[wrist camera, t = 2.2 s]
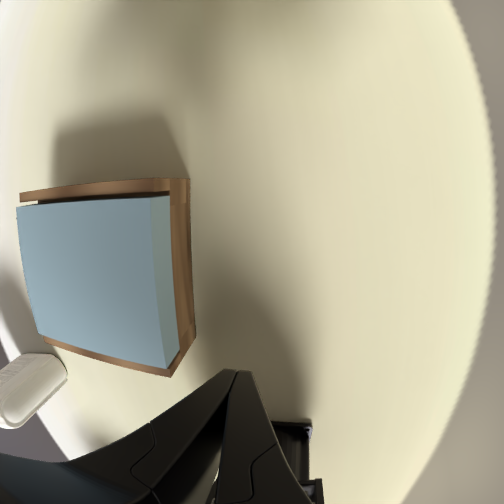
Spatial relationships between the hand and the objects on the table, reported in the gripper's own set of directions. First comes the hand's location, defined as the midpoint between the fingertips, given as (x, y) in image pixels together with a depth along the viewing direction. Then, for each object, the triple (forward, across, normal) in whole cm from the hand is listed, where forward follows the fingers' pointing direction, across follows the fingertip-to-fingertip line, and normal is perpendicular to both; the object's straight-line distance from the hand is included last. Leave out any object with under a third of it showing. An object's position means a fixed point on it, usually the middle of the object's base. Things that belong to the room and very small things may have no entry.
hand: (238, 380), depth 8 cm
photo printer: (+12, +28, +15) cm, 34 cm away
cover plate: (+8, +12, 0) cm, 14 cm away
